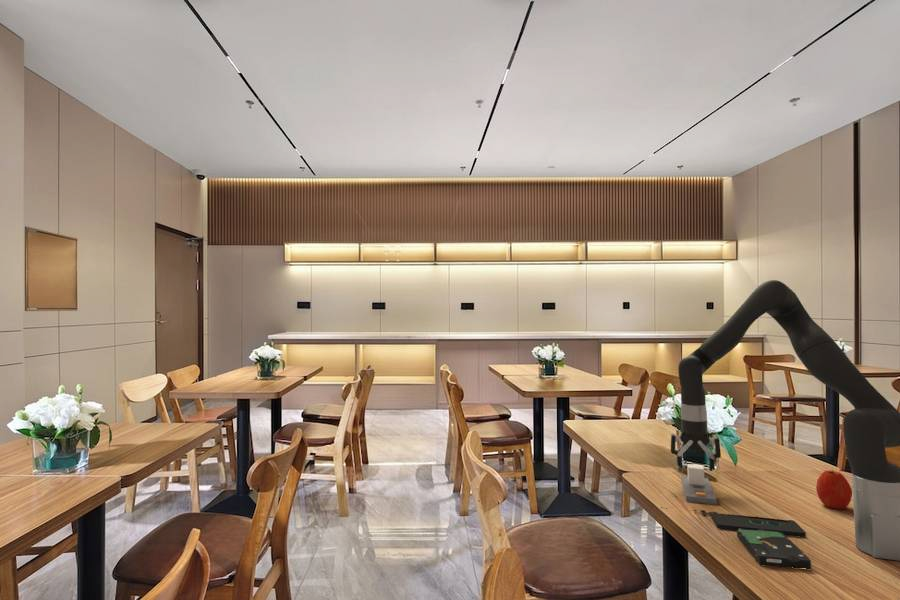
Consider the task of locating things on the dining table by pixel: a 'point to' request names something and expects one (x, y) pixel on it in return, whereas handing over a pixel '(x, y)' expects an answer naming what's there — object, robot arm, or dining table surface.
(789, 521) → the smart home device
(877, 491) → the robot arm
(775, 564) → the disk drive
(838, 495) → the apple
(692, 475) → the charger
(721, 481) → the dining table surface
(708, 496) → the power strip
